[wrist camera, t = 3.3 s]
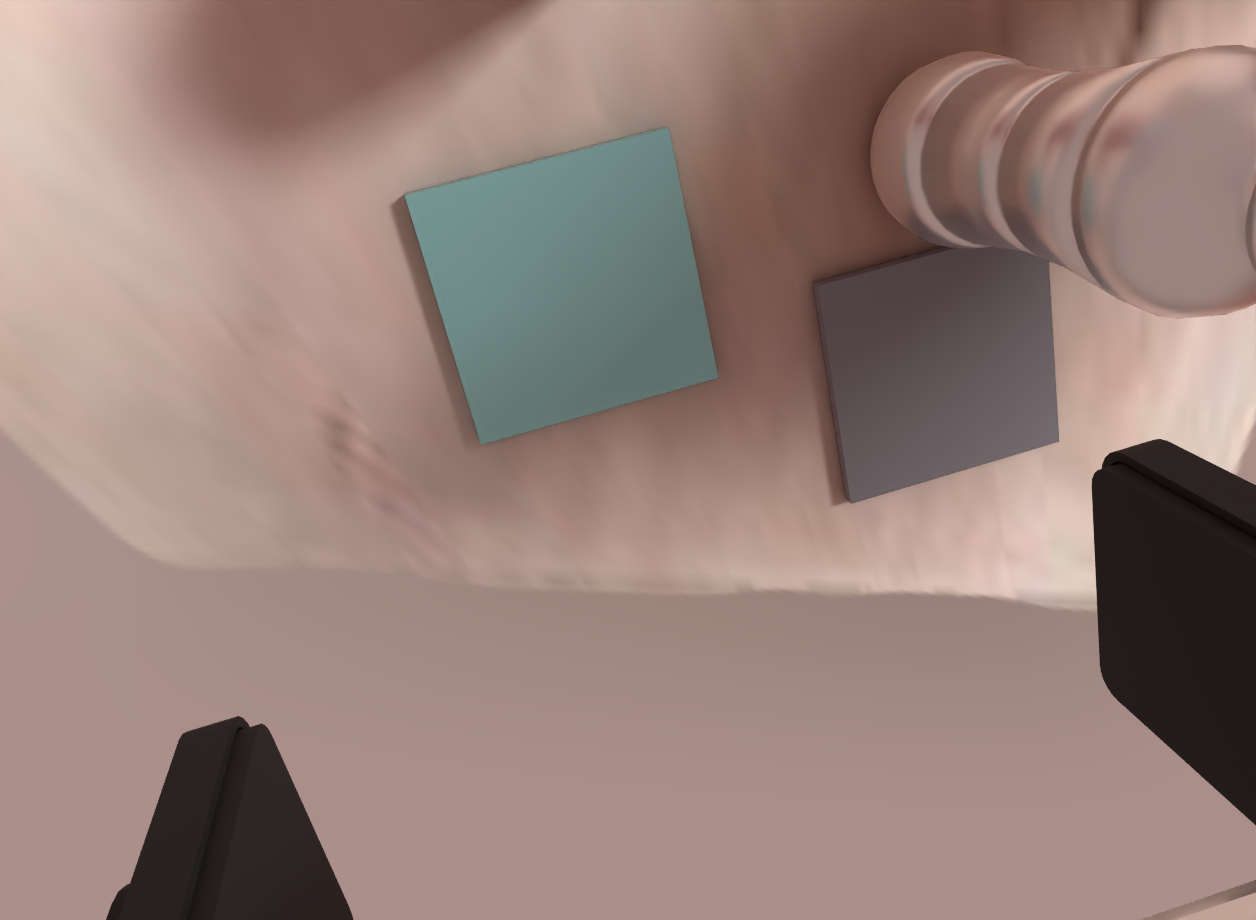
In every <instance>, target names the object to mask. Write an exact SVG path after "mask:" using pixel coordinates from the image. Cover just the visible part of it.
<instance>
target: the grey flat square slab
mask: <svg viewBox="0 0 1256 920" xmlns="http://www.w3.org/2000/svg"><path fill="white" fill-rule="evenodd" d="M813 289H814V295H815V302H816V308H817V315H818V321H819V328H820V334H821V341H822V347H823V354H824V360H825V367H826V374H827V380H828V387H829V393H830V400H831V406H832V413H833V419H834V426H835V432H836V439H837V445H838V452H839V458H840V465H841V471H842V478H843V484H844V491H845V497H846V499H847V500H848V501H849V502H850V503H851V504H852V503H855V502H858V501H862V500H865V499H868V498H872V497H875V496H878V495H882V494H885V493H889V492H892V491H895V490H899V489H902V488H905V487H909V486H912V485H915V484H919V483H922V482H925V481H929V480H932V479H935V478H939V477H942V476H945V475H949V474H952V473H955V472H959V471H962V470H965V469H969V468H972V467H976V466H979V465H982V464H986V463H989V462H992V461H996V460H999V459H1002V458H1006V457H1009V456H1012V455H1016V454H1019V453H1022V452H1026V451H1029V450H1032V449H1036V448H1039V447H1042V446H1046V445H1049V444H1052V443H1056V442H1059V431H1058V414H1057V397H1056V380H1055V362H1054V345H1053V328H1052V311H1051V294H1050V277H1049V261H1048V260H1046V259H1043V258H1041V257H1038V256H1036V255H1033V254H1031V253H1028V252H1026V251H1020V250H1013V249H1006V248H998V247H983V248H955V247H946V246H944V247H941V248H937V249H933V250H930V251H926V252H922V253H919V254H915V255H912V256H908V257H904V258H901V259H897V260H893V261H890V262H886V263H883V264H879V265H875V266H872V267H868V268H864V269H861V270H857V271H854V272H850V273H846V274H843V275H839V276H835V277H832V278H828V279H825V280H821V281H817V282H814V283H813Z"/></svg>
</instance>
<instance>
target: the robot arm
mask: <svg viewBox="0 0 1256 920" xmlns="http://www.w3.org/2000/svg"><path fill="white" fill-rule="evenodd" d="M1092 501H1093V523H1094V545H1095V567H1096V589H1097V611H1098V632H1099V653H1100V668H1101V673H1102V676H1103V679H1104V681H1105V683H1106V686H1107V687H1108V689H1109V690H1110V692H1111V694H1112V695H1113V696H1114V697H1115V698H1116V699H1117V700H1118V701H1119V702H1120V703H1121V704H1122V705H1123V706H1125V707H1126V708H1127V709H1128V710H1129V711H1130V712H1131V713H1132V714H1133V715H1134V716H1136V717H1137V718H1138V719H1139V720H1140V721H1141V722H1142V723H1143V724H1144V725H1146V726H1147V727H1148V728H1149V729H1150V730H1151V731H1152V732H1153V733H1154V734H1155V735H1157V736H1158V737H1159V738H1160V739H1161V740H1162V741H1163V742H1164V743H1165V744H1167V745H1168V746H1169V747H1170V748H1171V749H1172V750H1173V751H1174V752H1175V753H1176V754H1178V755H1179V756H1180V757H1181V758H1182V759H1183V760H1184V761H1185V762H1186V763H1188V764H1189V765H1190V766H1191V767H1192V768H1193V769H1194V770H1195V771H1196V772H1197V773H1199V774H1200V775H1201V776H1202V777H1203V778H1204V779H1205V780H1206V781H1207V782H1209V783H1210V784H1211V785H1212V786H1213V787H1214V788H1215V789H1216V790H1218V792H1220V793H1221V794H1222V795H1223V796H1224V797H1225V798H1226V799H1227V800H1229V801H1230V802H1231V803H1232V804H1233V805H1234V806H1235V807H1236V808H1237V809H1238V810H1239V811H1241V812H1242V813H1243V814H1244V815H1245V816H1246V817H1247V818H1248V819H1249V820H1251V821H1252V822H1253V823H1254V824H1255V825H1256V485H1254V484H1252V483H1250V482H1248V481H1246V480H1244V479H1242V478H1240V477H1238V476H1236V475H1234V474H1232V473H1230V472H1228V471H1226V470H1224V469H1222V468H1220V467H1218V466H1216V465H1214V464H1212V463H1210V462H1208V461H1206V460H1204V459H1202V458H1200V457H1198V456H1196V455H1194V454H1192V453H1190V452H1188V451H1186V450H1184V449H1182V448H1180V447H1178V446H1176V445H1174V444H1172V443H1170V442H1168V441H1165V440H1162V439H1156V440H1152V441H1148V442H1145V443H1142V444H1138V445H1135V446H1132V447H1129V448H1125V449H1122V450H1119V451H1115V452H1112V453H1110V454H1109V455H1107V456H1106V457H1105V459H1104V462H1103V464H1102V469H1100V470H1098V471H1096V472H1095V473H1094V476H1093V478H1092ZM106 920H353V917H352V913H351V911H350V908H349V906H348V904H347V901H346V899H345V897H344V895H343V892H342V890H341V888H340V886H339V884H338V881H337V879H336V877H335V874H334V872H333V870H332V868H331V866H330V863H329V861H328V859H327V857H326V855H325V852H324V850H323V848H322V846H321V844H320V841H319V839H318V837H317V835H316V833H315V830H314V828H313V826H312V823H311V821H310V819H309V817H308V815H307V812H306V810H305V808H304V806H303V803H302V802H301V799H300V797H299V795H298V792H297V790H296V788H295V786H294V784H293V781H292V779H291V777H290V775H289V772H288V770H287V768H286V766H285V764H284V761H283V759H282V757H281V755H280V752H279V750H278V748H277V746H276V744H275V741H274V739H273V737H272V735H271V733H270V731H269V729H268V728H267V727H266V726H265V725H263V724H259V725H256V726H252V727H249V725H248V723H247V722H246V721H245V720H244V719H243V718H242V717H239V716H237V717H234V718H231V719H227V720H224V721H221V722H218V723H214V724H211V725H207V726H204V727H201V728H198V729H194V730H191V731H188V732H185V733H184V734H182V736H181V738H180V739H179V742H178V744H177V747H176V750H175V753H174V756H173V759H172V762H171V765H170V768H169V771H168V774H167V777H166V780H165V783H164V786H163V789H162V792H161V794H160V797H159V800H158V803H157V806H156V809H155V812H154V815H153V818H152V821H151V824H150V827H149V830H148V833H147V836H146V838H145V842H144V844H143V847H142V850H141V853H140V856H139V859H138V862H137V865H136V868H135V871H134V874H133V877H132V880H131V883H130V884H128V885H126V886H125V887H123V888H122V889H121V890H120V891H119V892H118V893H117V895H116V897H115V899H114V901H113V903H112V905H111V908H110V910H109V913H108V916H107V919H106ZM1141 920H1256V880H1254V881H1251V882H1249V883H1246V884H1243V885H1240V886H1237V887H1234V888H1231V889H1228V890H1226V891H1222V892H1219V893H1216V894H1214V895H1211V896H1208V897H1205V898H1202V899H1199V900H1196V901H1194V902H1190V903H1188V904H1185V905H1182V906H1179V907H1176V908H1173V909H1170V910H1167V911H1164V912H1161V913H1158V914H1156V915H1152V916H1150V917H1147V918H1144V919H1141Z"/></svg>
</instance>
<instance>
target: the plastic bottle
mask: <svg viewBox="0 0 1256 920" xmlns="http://www.w3.org/2000/svg"><path fill="white" fill-rule="evenodd" d="M870 164H871V171H872V177H873V182H874V185H875V188H876V190H877V193H878V196H879V198H880V199H881V201H882V203H883V204H884V206H885V208H886V209H887V210H888V212H889V213H890V214H891V215H892V216H893V217H894V218H895V219H896V220H897V221H898V222H899V223H900V224H902V225H903V226H904V227H905V228H907V229H908V230H909V231H911V232H912V233H913V234H915V235H916V236H918V237H919V238H921V239H922V240H925V241H927V242H930V243H932V244H935V245H940V246H946V247H955V248H983V247H998V248H1006V249H1013V250H1020V251H1026V252H1028V253H1031V254H1033V255H1036V256H1038V257H1041V258H1043V259H1046V260H1048V261H1051V262H1053V263H1056V264H1058V265H1061V266H1063V267H1065V268H1067V269H1069V270H1070V271H1072V272H1074V273H1076V274H1077V275H1079V276H1081V277H1082V278H1084V279H1086V280H1087V281H1089V282H1091V283H1092V284H1094V285H1096V286H1097V287H1099V288H1101V289H1102V290H1104V291H1106V292H1108V293H1109V294H1111V295H1113V296H1115V297H1116V298H1117V299H1119V300H1121V301H1124V302H1126V303H1129V304H1131V305H1133V306H1135V307H1137V308H1139V309H1142V310H1144V311H1147V312H1149V313H1152V314H1154V315H1157V316H1163V317H1170V318H1177V319H1179V318H1191V317H1204V316H1215V315H1225V314H1228V313H1232V312H1235V311H1238V310H1241V309H1245V308H1247V307H1249V306H1251V305H1254V304H1256V48H1252V47H1248V46H1243V45H1225V46H1212V47H1206V48H1198V49H1191V50H1187V51H1183V52H1179V53H1175V54H1171V55H1167V56H1163V57H1158V58H1154V59H1150V60H1146V61H1142V62H1138V63H1133V64H1129V65H1125V66H1121V67H1115V68H1104V69H1092V70H1084V71H1069V72H1067V71H1060V70H1053V69H1047V68H1040V67H1034V66H1030V65H1028V64H1026V63H1024V62H1022V61H1019V60H1017V59H1014V58H1010V57H1006V56H1002V55H998V54H993V53H988V52H983V51H967V52H960V53H957V54H953V55H950V56H946V57H944V58H941V59H939V60H936V61H934V62H931V63H929V64H927V65H925V66H923V67H922V68H920V69H918V70H916V71H914V72H913V73H912V74H911V75H909V76H908V77H907V78H906V79H904V80H903V81H902V82H901V83H900V84H899V85H898V87H897V88H896V89H895V90H894V91H893V92H892V94H891V95H890V96H889V98H888V100H887V101H886V103H885V105H884V106H883V108H882V110H881V112H880V114H879V117H878V120H877V122H876V125H875V128H874V132H873V137H872V142H871V159H870Z"/></svg>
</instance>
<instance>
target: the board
mask: <svg viewBox="0 0 1256 920" xmlns="http://www.w3.org/2000/svg"><path fill="white" fill-rule="evenodd" d="M405 199H406V202H407V205H408V208H409V212H410V215H411V218H412V222H413V225H414V228H415V231H416V235H417V238H418V241H419V244H420V248H421V251H422V254H423V258H424V261H425V264H426V267H427V271H428V274H429V277H430V280H431V284H432V287H433V290H434V294H435V297H436V300H437V303H438V307H439V310H440V313H441V316H442V320H443V323H444V326H445V330H446V333H447V336H448V339H449V343H450V346H451V349H452V352H453V356H454V359H455V362H456V366H457V369H458V372H459V375H460V379H461V382H462V385H463V388H464V392H465V395H466V398H467V402H468V405H469V408H470V411H471V415H472V418H473V421H474V424H475V428H476V431H477V434H478V438H479V441H480V444H481V445H483V444H487V443H490V442H494V441H497V440H501V439H504V438H508V437H511V436H515V435H518V434H522V433H526V432H529V431H533V430H536V429H540V428H543V427H547V426H550V425H554V424H557V423H561V422H564V421H568V420H571V419H575V418H579V417H582V416H586V415H589V414H593V413H596V412H600V411H603V410H607V409H610V408H614V407H617V406H621V405H625V404H628V403H632V402H635V401H639V400H642V399H646V398H649V397H653V396H656V395H660V394H663V393H667V392H671V391H674V390H678V389H681V388H685V387H688V386H692V385H695V384H699V383H702V382H706V381H709V380H713V379H717V378H718V373H717V367H716V362H715V357H714V352H713V347H712V342H711V337H710V332H709V327H708V322H707V317H706V312H705V307H704V302H703V297H702V292H701V287H700V282H699V277H698V272H697V267H696V262H695V257H694V252H693V246H692V241H691V236H690V231H689V226H688V221H687V216H686V211H685V206H684V201H683V196H682V191H681V186H680V181H679V176H678V171H677V166H676V161H675V156H674V151H673V146H672V141H671V136H670V131H669V128H668V127H663V128H659V129H655V130H651V131H647V132H643V133H639V134H635V135H631V136H628V137H624V138H620V139H616V140H612V141H608V142H604V143H600V144H596V145H593V146H589V147H585V148H581V149H577V150H573V151H569V152H565V153H561V154H557V155H554V156H550V157H546V158H542V159H538V160H534V161H530V162H526V163H522V164H519V165H515V166H511V167H507V168H503V169H499V170H495V171H491V172H487V173H483V174H480V175H476V176H472V177H468V178H464V179H460V180H456V181H452V182H448V183H445V184H441V185H437V186H433V187H429V188H425V189H421V190H417V191H413V192H410V193H406V194H405Z"/></svg>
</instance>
